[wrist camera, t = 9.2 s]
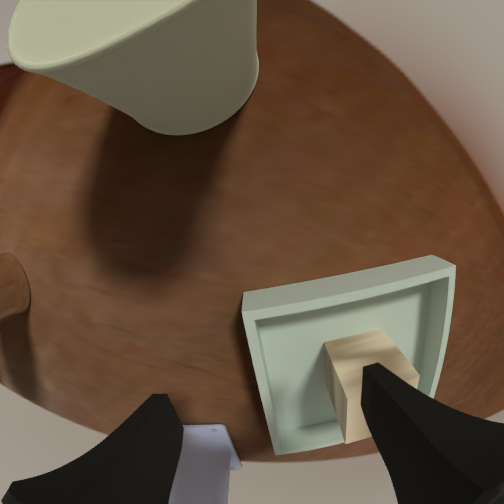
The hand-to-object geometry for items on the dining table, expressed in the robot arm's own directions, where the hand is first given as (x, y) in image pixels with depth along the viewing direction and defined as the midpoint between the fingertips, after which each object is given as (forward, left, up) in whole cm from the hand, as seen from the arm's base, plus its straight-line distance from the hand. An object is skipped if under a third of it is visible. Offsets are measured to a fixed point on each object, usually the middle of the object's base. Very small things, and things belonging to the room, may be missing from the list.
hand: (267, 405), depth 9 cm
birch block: (+6, -6, -9) cm, 12 cm away
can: (-2, +16, -10) cm, 19 cm away
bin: (+6, -6, -9) cm, 13 cm away
